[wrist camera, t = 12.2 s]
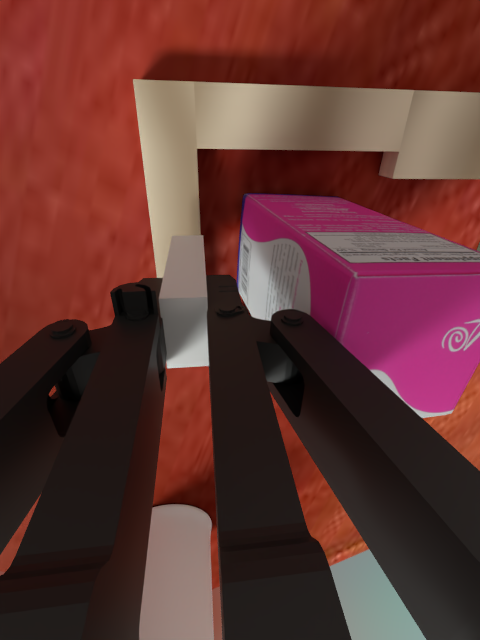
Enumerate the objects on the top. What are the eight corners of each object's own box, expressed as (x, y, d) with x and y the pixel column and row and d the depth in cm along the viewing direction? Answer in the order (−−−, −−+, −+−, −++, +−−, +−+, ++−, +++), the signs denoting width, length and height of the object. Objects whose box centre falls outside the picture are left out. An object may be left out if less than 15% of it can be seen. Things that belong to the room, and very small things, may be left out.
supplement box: (322, 286, 21) (454, 421, 12) (234, 288, 20) (301, 441, 10) (343, 194, 18) (542, 272, 9) (241, 189, 17) (344, 275, 8)
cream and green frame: (169, 350, 22) (167, 364, 21) (138, 83, 15) (132, 79, 13) (471, 333, 25) (486, 345, 24) (580, 99, 17) (611, 97, 16)
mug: (160, 565, 38) (148, 727, 28) (94, 548, 34) (52, 727, 24) (228, 518, 34) (242, 683, 24) (162, 493, 31) (146, 675, 21)
